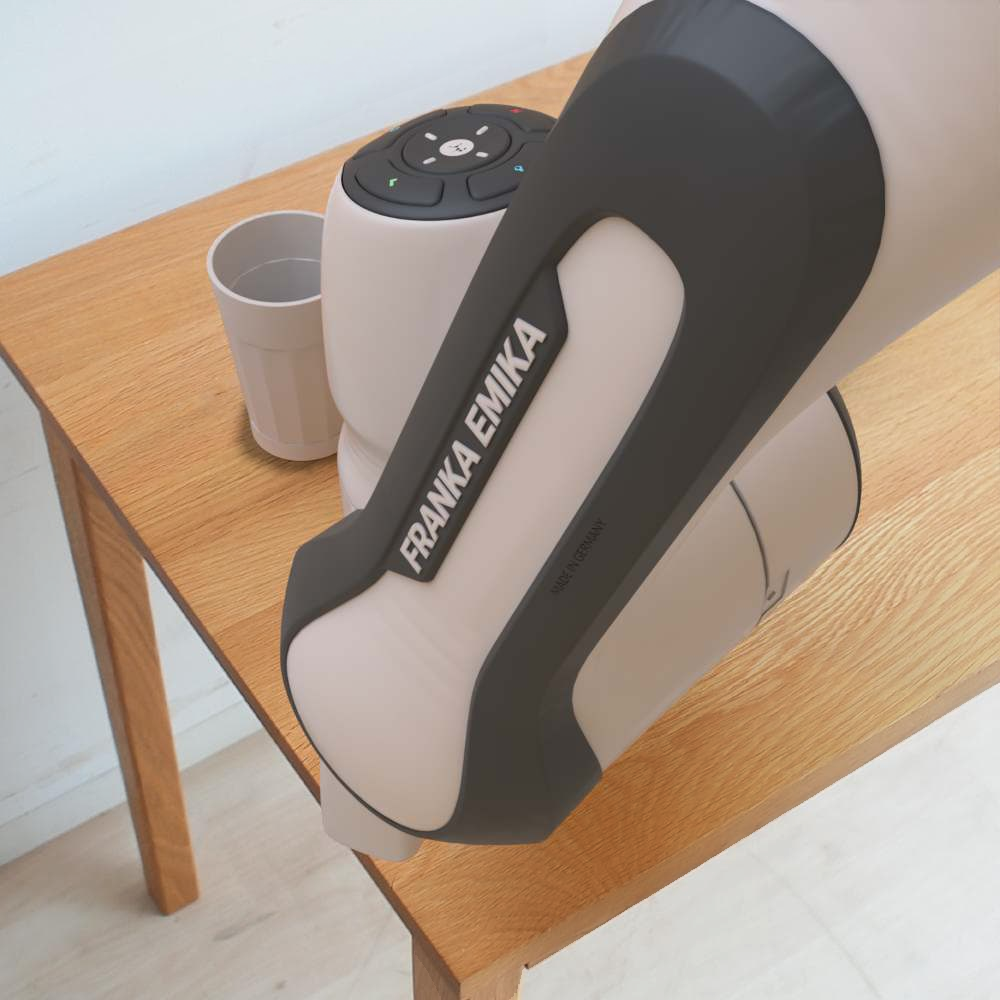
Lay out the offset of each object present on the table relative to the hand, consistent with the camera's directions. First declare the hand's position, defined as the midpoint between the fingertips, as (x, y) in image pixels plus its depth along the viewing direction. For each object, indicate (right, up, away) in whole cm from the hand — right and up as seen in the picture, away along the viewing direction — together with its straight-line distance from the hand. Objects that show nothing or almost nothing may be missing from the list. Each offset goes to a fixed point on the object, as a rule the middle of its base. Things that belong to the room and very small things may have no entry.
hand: (466, 720), depth 64 cm
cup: (-10, +14, +20) cm, 26 cm away
